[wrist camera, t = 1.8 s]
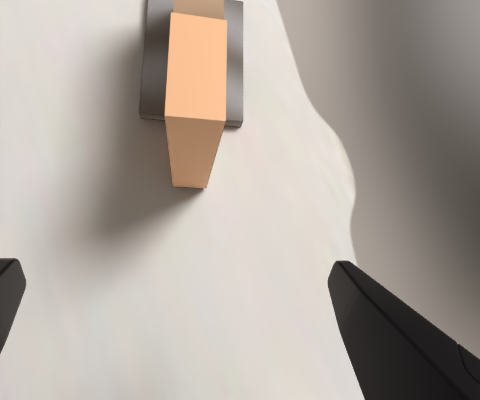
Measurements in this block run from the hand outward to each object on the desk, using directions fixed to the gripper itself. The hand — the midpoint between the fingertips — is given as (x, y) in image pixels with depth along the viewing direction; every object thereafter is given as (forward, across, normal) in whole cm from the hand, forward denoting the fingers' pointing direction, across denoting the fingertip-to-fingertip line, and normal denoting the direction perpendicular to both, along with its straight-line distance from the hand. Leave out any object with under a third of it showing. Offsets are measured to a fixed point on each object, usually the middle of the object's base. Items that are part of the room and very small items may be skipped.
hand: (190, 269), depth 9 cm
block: (+16, 0, +3) cm, 16 cm away
